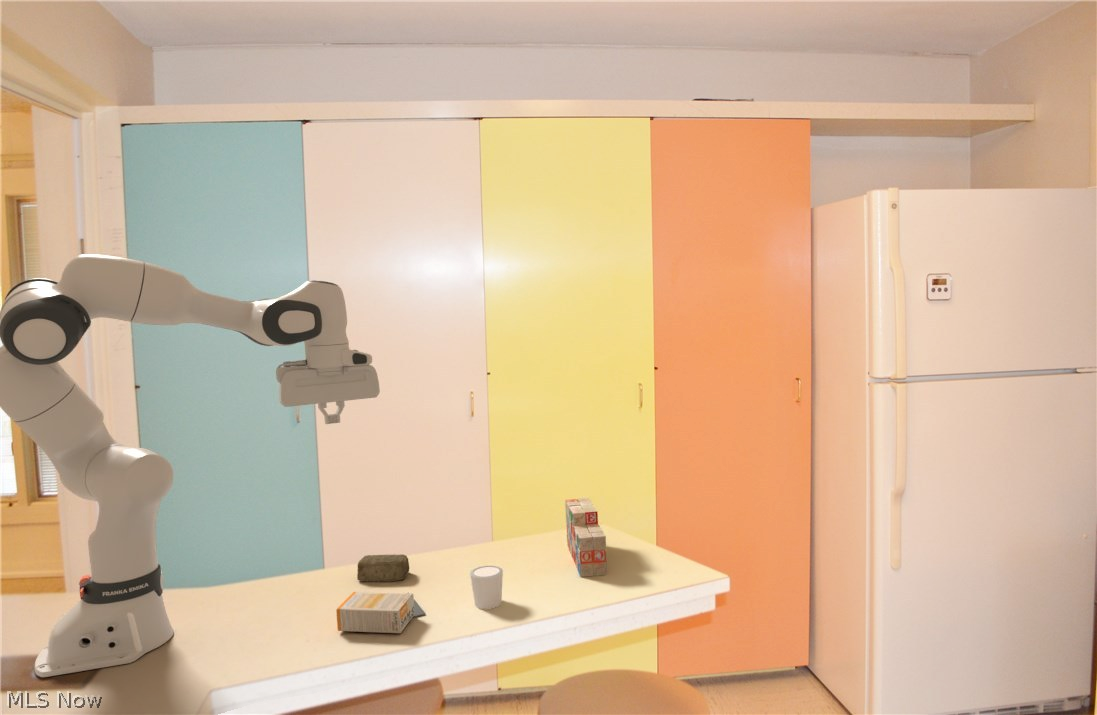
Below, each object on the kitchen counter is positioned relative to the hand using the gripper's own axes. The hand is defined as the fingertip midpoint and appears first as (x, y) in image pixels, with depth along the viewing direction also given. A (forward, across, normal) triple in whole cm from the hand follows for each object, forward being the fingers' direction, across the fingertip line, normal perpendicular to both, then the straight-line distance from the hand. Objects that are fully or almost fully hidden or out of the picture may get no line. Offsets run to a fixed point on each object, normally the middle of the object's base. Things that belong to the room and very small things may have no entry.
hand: (332, 423), depth 148 cm
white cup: (+39, +26, -18) cm, 50 cm away
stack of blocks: (+40, +56, -8) cm, 69 cm away
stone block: (+40, +11, +9) cm, 42 cm away
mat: (+39, +6, -10) cm, 41 cm away
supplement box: (+36, -2, -11) cm, 38 cm away
